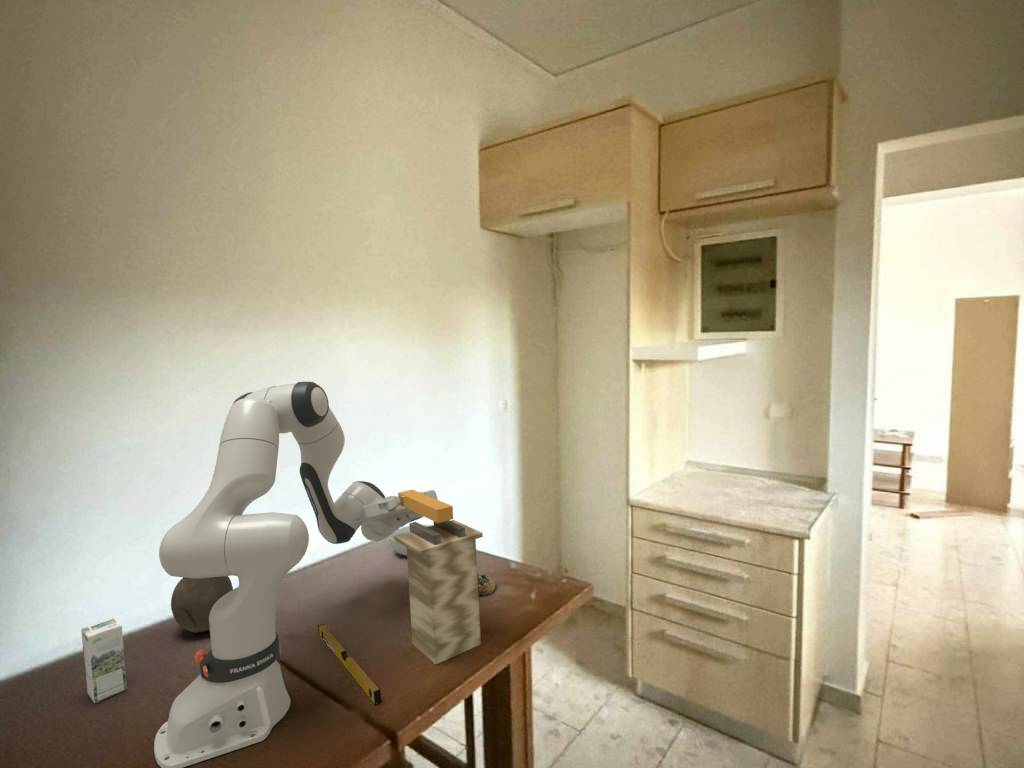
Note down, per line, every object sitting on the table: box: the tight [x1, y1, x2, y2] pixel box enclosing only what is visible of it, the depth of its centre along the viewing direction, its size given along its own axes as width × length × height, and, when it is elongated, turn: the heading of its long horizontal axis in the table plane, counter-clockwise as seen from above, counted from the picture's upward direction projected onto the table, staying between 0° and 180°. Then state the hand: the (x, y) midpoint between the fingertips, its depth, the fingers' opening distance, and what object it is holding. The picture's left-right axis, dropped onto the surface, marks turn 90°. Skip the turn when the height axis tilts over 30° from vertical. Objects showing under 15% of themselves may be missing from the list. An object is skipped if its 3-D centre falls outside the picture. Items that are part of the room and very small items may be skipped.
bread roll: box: [477, 572, 497, 597], centre depth 150 cm, size 11×11×5 cm
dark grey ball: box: [170, 576, 234, 634], centre depth 134 cm, size 14×14×15 cm
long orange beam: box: [397, 489, 454, 523], centre depth 126 cm, size 4×20×3 cm, turn 38°
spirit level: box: [317, 623, 382, 706], centre depth 116 cm, size 33×1×3 cm, turn 38°
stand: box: [394, 519, 484, 666], centre depth 122 cm, size 16×13×28 cm
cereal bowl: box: [388, 524, 432, 557], centre depth 180 cm, size 17×17×7 cm
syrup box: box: [80, 617, 128, 704], centre depth 109 cm, size 6×6×14 cm
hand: (410, 497), depth 132 cm, fingers closed on long orange beam, 4 cm apart
